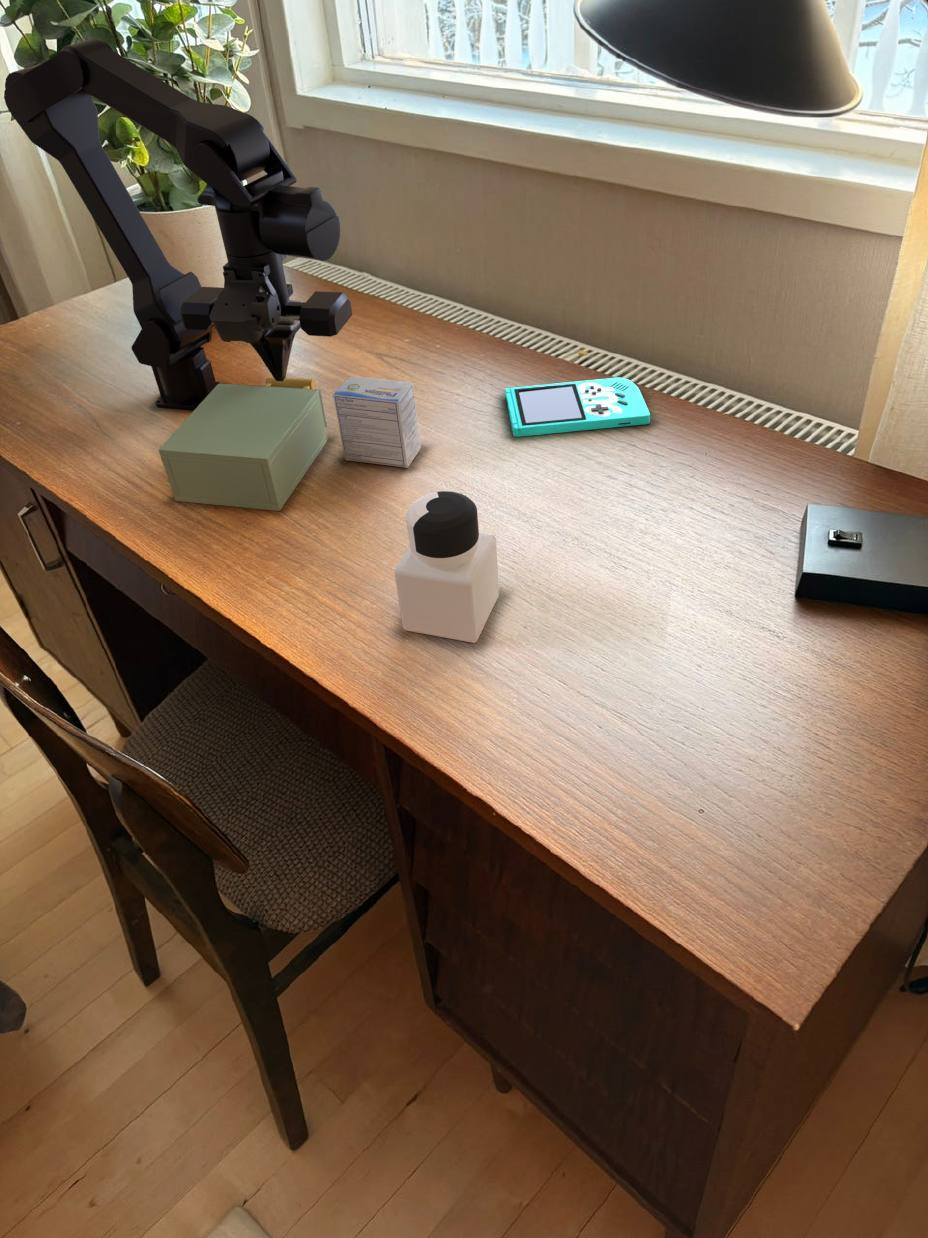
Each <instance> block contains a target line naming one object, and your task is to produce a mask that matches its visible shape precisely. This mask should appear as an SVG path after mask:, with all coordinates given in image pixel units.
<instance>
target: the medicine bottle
mask: <svg viewBox="0 0 928 1238" xmlns="http://www.w3.org/2000/svg"><path fill="white" fill-rule="evenodd" d="M405 519H406V528H407V535H408V543H409V546H408V547H407V549H406V551H405V552H404V554H403V556H401V559H400V560H399V562H398V564H397V565H396V566H395V568H394V580H395V586H396V592H397V598H398V606H399V611H400V617H401V623H402V625H401V626H402V629H403V630H404V631H406V632H407V631H408V632H412V633H418V634H423V635H428V636H434V637H440V638H446V639H451V640H454V641H455V640H456V641H461V642H468V643H473V644H476V643H477V642H478V640H479V638H480V636H481V634H482V632H483V629H484V628H485V626H486V624H487V622H488V619H489V617H490V615H491V612H492V611H493V609H494V607H495V605H496V602H497V600H498V599H499V596H500V581H499V566H498V565H499V564H498V550H497V548H498V547H497V536H495V534H492V533H485V532H480V530H479V528H480V527H479V515H478V507H477V505H476V503H475V502H474V501H473V500H472V499H471V498H469V497H468V496H467V495H464V494H463V493H460V492H456V491H451V490H449V491H448V490H441V491H434V492H429V493H426V494H424V495H422V496H419V497H418V498H417V499H415V500H414V501H413V502H412V503H411V504H410V505H409V507H408V508H407V510H406V513H405Z"/></svg>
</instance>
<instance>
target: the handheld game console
mask: <svg viewBox="0 0 928 1238" xmlns="http://www.w3.org/2000/svg"><path fill="white" fill-rule="evenodd" d="M504 394H505V402H506V407H507V412H508V416H509V420H510V421H509V422H510V426H511V430H512V431H511V432H512V435H513V437H514V438H515V437H516V438H519V437H529V436H539V435H540V436H541V435H550V434H559V433H570V432H580V431H581V432H582V431H590V430H601V429H611V428H621V427H632V426H641V425H643V426H644V425H649V424H650V422H651V413H650V411H649V408H648V406H647V404H646V401H645V398H644V397H643V394H642V392H641V390H640V389H639V387H638V385H637V384H636V383H634V382H633V381H632V380H630V379H628V378H624V377H609V378H608V377H607V378H598V379H597V378H596V379H588V380H578V381H576V380H575V381H566V382H556V383H547V384H535V385H526V386H515V387H507V388H505V393H504Z"/></svg>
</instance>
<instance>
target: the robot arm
mask: <svg viewBox="0 0 928 1238" xmlns="http://www.w3.org/2000/svg"><path fill="white" fill-rule="evenodd" d="M4 81H5V82H4V91H3V92H4V93H3V100H4V103H5V106H6V107H7V110H8V112H9V113H10V114H11V116H12V117H13V119H14V120H15V121H16V123H17V124H18V125H19V127H20V128H21V130H22V131H23V133H24V134H25V135H26V137H27V138H28V140H29V141H30V142H31V143H32V144H34V145H35V146H36V147H38V148H39V149H41V150H42V151H44V152H45V153H46V154H48V155H50V156H51V157H52V158H53V159H55V160H56V161H57V162H59V164H60V165H61V166H62V168H63V170H64V171H65V173H66V175H67V176H68V177H67V178H69V180H70V181H71V183H72V185H73V186H74V188H75V190H76V192H77V194H78V195H79V197H80V198H81V200H82V202H83V204H84V205H85V208H87V210H88V212H89V213H90V215H91V217H92V219H93V220H94V222H95V224H96V225H97V227H98V229H99V230H100V232H101V234H102V235H103V237H104V239H105V241H106V242H107V244H108V245H109V247H110V249H111V251H112V252H113V254H114V256H115V258H116V259H117V261H118V262H119V264H120V266H121V268H122V269H123V271H124V273H125V274H126V276H127V277H128V279H129V282H130V283H131V288H132V289H131V291H132V306H133V308H132V309H133V313H134V315H135V318H136V320H137V322H138V324H139V326H140V328H141V329H140V331H139V332H138V335H137V336H136V338H135V340H134V342H133V343H132V345H131V348H130V349H131V351H132V353H133V355H134V356H135V358H136V360H137V361H138V363H139V364H140V365H144V366H149V367H151V370H152V374H153V377H154V379H155V383H156V385H157V389H158V392H159V395H160V396H159V398H157V399H156V400H155V401H154V404H155V406H156V407H157V408H171V409H172V408H173V409H185V410H195V409H196V408H197V407H198V406H199V405H200V403H201V402H202V401H203V400H204V399H205V398H206V397H207V396H208V395H209V394H210V392H211V391H212V390H213V389H214V388H215V387H216V386H217V385H218V384H221V382H220V381H216V378H215V374H214V370H213V367H212V362H211V360H210V359H207V355H206V352H205V348H204V347H203V346H204V345H206V344H208V343H210V342H211V341H212V337H213V335H212V334H213V326H214V329H215V331H216V332H217V334H218V336H219V338H220V340H221V341H222V342H226V343H231V342H244V343H246V344H249V345H251V347H252V348H253V349H254V350H255V352H256V353H257V354H258V356H259V357H260V359H261V361H262V362H263V364H264V365H265V367H266V368H267V370H268V371H269V373H270V374H271V377H274V379H275V380H276V381H283V380H284V379H285V377H286V378H287V371H288V368H289V362H290V358H291V352H292V347H293V343H294V340H295V336H296V334H297V332H299V330H300V329H301V330H302V331H303V332H304V333H305V334H306V335H307V336H311V337H329V338H330V337H334V336H337V335H338V334H339V333H340V332H341V330H342V329H343V328H344V326H345V325H346V324H347V322H348V321H349V320H350V319H351V318H352V316H353V309H352V303H351V300H350V298H348V296H347V295H346V294H345V293H344V292H343V291H341V292H340V291H319V290H318V291H317V290H315V291H314V292H313V293H312V295H311V296H310V297H309V298H308V299H307V300H306V301H305V302H304V301H303V300H296V299H295V300H294V299H291V300H290V297H291V296H292V295H293V294H294V288H293V284H292V283H287V279H286V275H285V269H284V265H283V261H284V260H285V259H286V258H287V256H288V257H295V258H301V259H306V260H307V259H308V260H314V261H320V262H325V261H328V260H330V259H331V258H332V257H333V256H334V254H335V252H336V251H337V249H338V246H339V243H340V238H341V220H340V216H339V215H338V214H337V212H336V209H335V208H334V207H333V205H332V204H331V203H330V202H328V201H327V200H324V197H323V193H322V189H321V188H320V187H317V186H308V187H298V186H293V185H294V184H296V183H297V180H298V179H297V177H296V175H295V174H294V173H293V171H292V170H291V168H290V166H289V164H288V163H287V162H286V161H285V160H284V158H283V157H282V156H281V154H280V153H279V151H278V150H277V148H276V147H275V146H274V144H273V143H272V141H271V140H270V138H269V137H268V135H267V134H266V133H265V131H264V130H265V129H264V126H263V125H262V124H261V122H260V121H259V120H258V119H257V118H255V117H254V116H252V115H251V114H249V113H246V112H243V111H241V110H238V109H236V108H234V107H230V106H228V105H224V104H217V103H210V102H209V103H208V102H202V101H199V100H197V99H194V98H192V97H190V96H188V95H187V94H185V93H184V92H182V91H181V90H178V89H177V88H175V87H173V86H172V85H170V84H169V83H167V82H165V81H164V80H162V79H160V78H159V77H157V76H155V75H154V74H152V73H150V72H149V71H147V70H145V69H144V68H142V67H141V66H139V65H137V64H135V63H134V62H132V61H131V60H129V59H127V58H125V56H122V55H120V54H119V53H117V52H115V51H114V50H113V48H112V46H111V45H109V44H108V43H107V42H106V41H105V40H102V39H98V38H95V37H94V38H88V39H86V40H83V41H82V40H81V41H78V42H76V43H72V44H68V45H65V46H64V47H62V49H61V50H60V51H58V52H57V53H56V54H55V55H53V56H52V57H51V58H49V59H47V60H45V61H44V62H41V63H37V64H35V65H30V66H27V67H25V68H21V69H18V70H15V71H11V72H10V73H8V74H7V76H6V78H5V80H4ZM93 97H94V98H95V99H97V100H98V101H100V102H101V103H103V104H105V105H107V106H108V107H110V108H111V109H113V110H115V111H116V112H118V113H119V114H121V115H122V116H124V117H127V119H129V120H131V121H133V122H134V123H136V124H138V125H139V126H141V127H142V128H144V129H146V130H147V131H149V132H150V133H152V134H154V135H155V136H157V137H159V138H161V140H163V141H165V142H167V143H168V144H170V146H172V147H173V148H174V149H176V152H177V155H178V156H179V158H180V160H181V162H182V164H183V165H184V167H185V168H187V169H189V171H190V172H191V173H193V174H194V175H195V176H196V177H197V178H199V179H200V180H201V181H202V182H203V183H205V184H206V185H205V187H204V189H203V190H202V192H201V193H200V194H199V195H198V197H197V198H196V201H197V203H198V204H199V205H204V206H210V207H214V209H215V213H216V218H217V221H218V222H217V223H218V227H219V231H220V234H221V239H222V243H223V248H224V251H225V255H226V259H227V262H226V263H225V264H223V266H222V270H223V272H222V276H223V281H224V282H223V287H216V286H215V287H214V286H213V287H212V286H202V285H201V282H200V280H199V278H198V276H197V275H196V274H195V273H194V272H193V271H189V272H187V273H183V272H181V271H180V270H179V269H177V268H176V267H174V266H173V265H171V264H170V262H169V260H168V259H167V257H166V255H165V253H164V252H163V250H162V248H161V246H160V245H159V244H158V241H157V240H156V238H155V236H154V235H153V233H152V231H151V229H150V227H149V226H148V224H147V222H146V220H145V219H144V217H143V216H142V214H141V212H140V210H139V208H138V207H137V205H136V203H135V201H134V199H133V198H132V196H131V194H130V193H129V191H128V189H127V188H126V185H125V183H124V182H123V180H122V178H121V176H120V175H119V173H118V171H117V170H116V168H115V166H114V164H113V163H112V161H111V159H110V157H109V156H108V154H107V152H106V151H105V149H104V147H103V146H102V143H101V140H100V129H99V112H98V108H97V106H96V103H95V102H94V99H93ZM262 172H265V173H266V174H265V175H262V176H261V177H259V178H257V179H255V180H253V181H250V182H248V183H247V184H245V185H243V183H242V182H243V181H246V180H247V179H250V178H252V177H254V176H255V175H259V174H260V173H262Z"/></svg>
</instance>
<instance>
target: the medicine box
mask: <svg viewBox="0 0 928 1238" xmlns="http://www.w3.org/2000/svg"><path fill="white" fill-rule="evenodd" d="M332 396H333V403H334V406H335V412H336V419H337V423H338V428H339V433H340V439H341V444H342V450H343V455H344V460H345V461H351V462H360V463H368V464H375V465H383V466H391V467H398V468H405V469H408V468H410V465H412V462H413V461H414V459H415V458H416V456H417V455H418V454H419V452H420V450H421V449H422V444H421V437H420V431H419V430H420V429H419V424H418V423H419V422H418V415H417V409H416V401H415V393H414V384H413V383H412V382H410V381H403V380H402V381H401V380H393V379H384V378H375V377H364V376H353V375H351V376H348V377H347V379H345V380H344V381H343V382H342V383H341V385H340V386H339V387H337V389H336V391H335V392H334V393H333V394H332Z"/></svg>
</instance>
